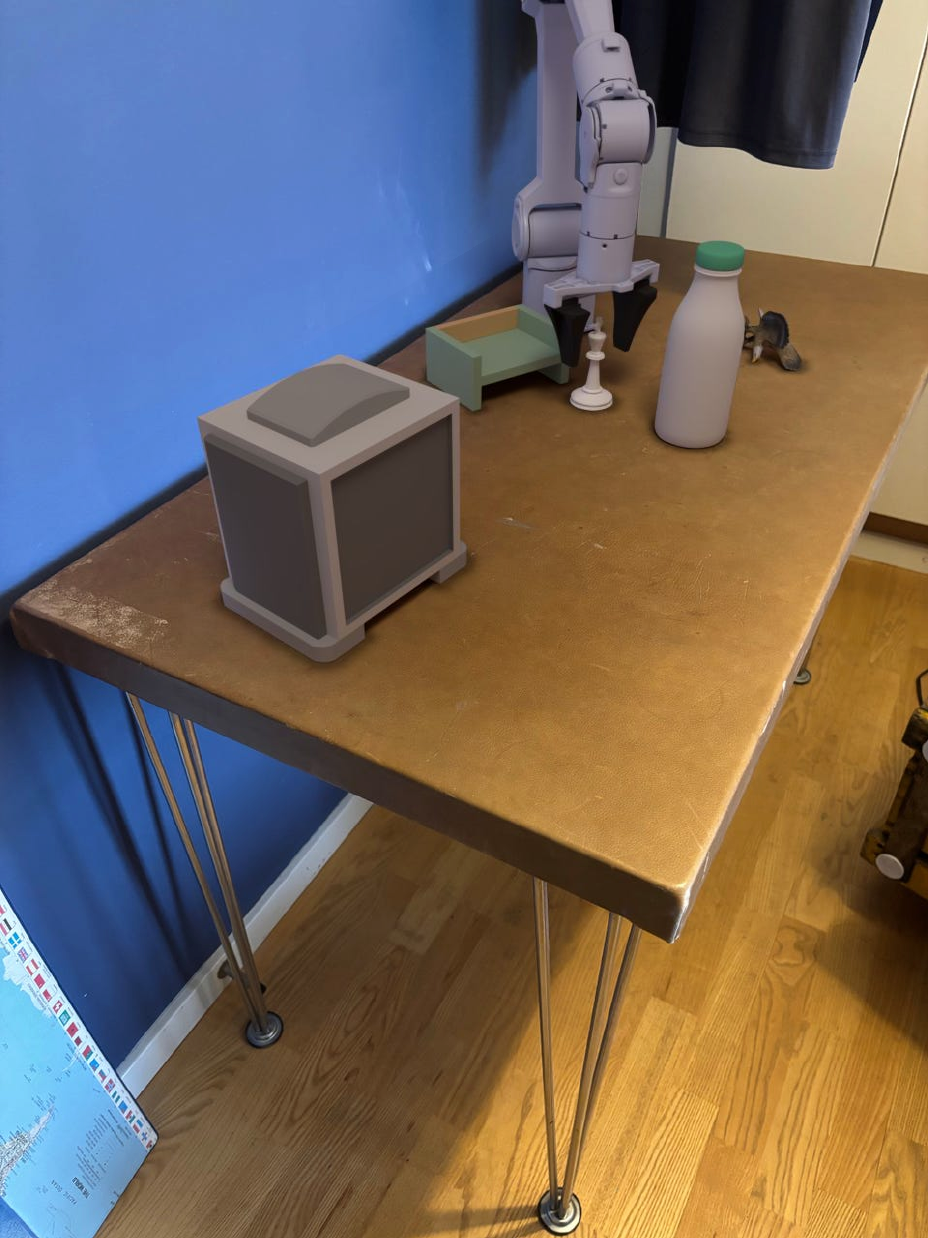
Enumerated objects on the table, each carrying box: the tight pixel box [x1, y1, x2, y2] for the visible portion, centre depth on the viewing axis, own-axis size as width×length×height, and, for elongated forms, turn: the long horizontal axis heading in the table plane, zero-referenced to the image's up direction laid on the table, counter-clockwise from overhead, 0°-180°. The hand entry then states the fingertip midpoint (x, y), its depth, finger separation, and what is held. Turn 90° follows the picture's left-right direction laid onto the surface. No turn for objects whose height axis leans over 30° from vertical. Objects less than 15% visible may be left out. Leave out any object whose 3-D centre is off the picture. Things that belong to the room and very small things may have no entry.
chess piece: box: [569, 316, 613, 412], centre depth 103 cm, size 5×5×10 cm
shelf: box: [425, 303, 570, 412], centre depth 109 cm, size 14×10×6 cm
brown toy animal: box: [742, 307, 803, 372], centre depth 114 cm, size 8×7×9 cm
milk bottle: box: [654, 240, 746, 449], centre depth 94 cm, size 8×8×20 cm
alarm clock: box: [196, 353, 468, 663], centre depth 74 cm, size 18×13×18 cm
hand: (595, 356), depth 103 cm, fingers open, 7 cm apart
